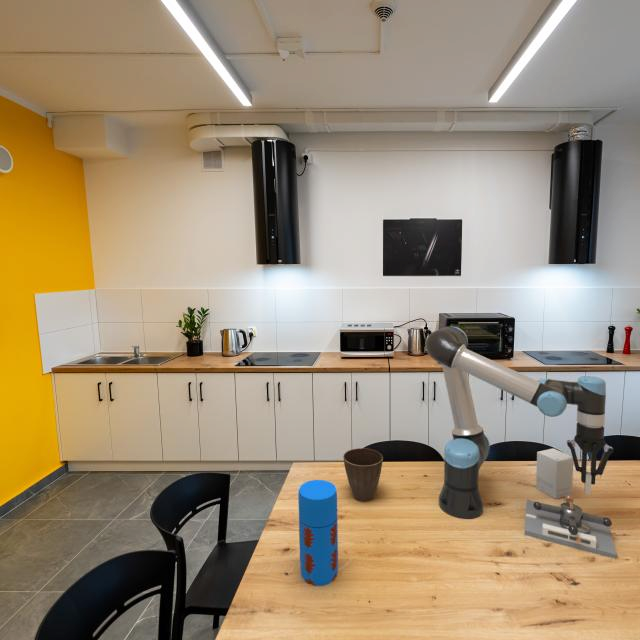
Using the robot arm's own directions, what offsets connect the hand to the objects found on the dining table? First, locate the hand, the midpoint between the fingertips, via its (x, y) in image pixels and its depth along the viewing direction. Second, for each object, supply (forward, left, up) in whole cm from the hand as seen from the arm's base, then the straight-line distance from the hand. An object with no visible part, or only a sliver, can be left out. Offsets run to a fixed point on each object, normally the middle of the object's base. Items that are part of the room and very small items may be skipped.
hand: (587, 492), depth 132 cm
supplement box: (-9, +18, -11) cm, 23 cm away
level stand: (-6, -6, -11) cm, 14 cm away
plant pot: (-73, -19, -11) cm, 76 cm away
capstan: (-5, -7, -9) cm, 13 cm away
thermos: (-69, -61, -11) cm, 93 cm away
